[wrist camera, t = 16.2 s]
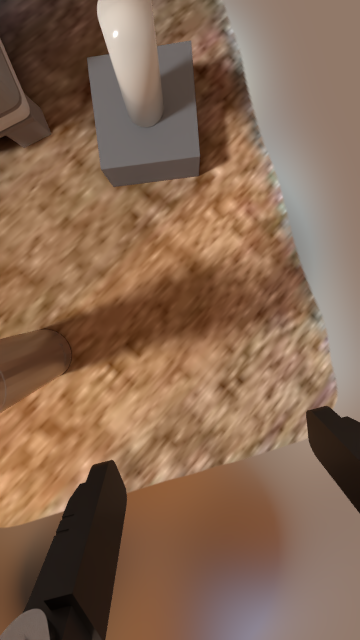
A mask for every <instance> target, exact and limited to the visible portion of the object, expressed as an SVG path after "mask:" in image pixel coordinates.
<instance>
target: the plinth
mask: <svg viewBox="0 0 360 640" xmlns="http://www.w3.org/2000/svg"><path fill="white" fill-rule="evenodd" d="M157 52H158V60H159V69H160V78H161V87H162V95H163V104H164V110H163V114H162V117H161V119H160V120H159V121H158V122H157V123H156V124H155V125H153V126H151V127H140V126H137V125H136V124H134V123H133V122H132V121H131V119H130V118H129V115H128V112H127V109H126V106H125V103H124V100H123V96H122V93H121V90H120V87H119V84H118V80H117V77H116V74H115V71H114V68H113V64H112V61H111V58H110V55H109V54H106V55H100V56H94V57H88V58H87V63H88V71H89V79H90V87H91V94H92V102H93V110H94V118H95V126H96V133H97V141H98V149H99V157H100V165H101V170H102V171H103V173H104V174H105V176H106V177H107V178H108V180H109V181H110V183H111V184H112V185H113V187H116V186H124V185H132V184H139V183H147V182H155V181H163V180H171V179H179V178H187V177H194V176H199V163H200V150H199V137H198V125H197V112H196V99H195V86H194V73H193V60H192V47H191V41H186V42H179V43H173V44H167V45H161V46H157Z"/></svg>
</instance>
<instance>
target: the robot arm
mask: <svg viewBox="0 0 360 640" xmlns="http://www.w3.org/2000/svg"><path fill="white" fill-rule="evenodd" d="M70 363H71V349H70V346H69V344H68V342H67V341H66V339H65V338H64V337H63V336H62V335H60V334H59V333H57V332H55V331H53V330H48V329H41V330H36V331H32V332H28V333H23V334H19V335H15V336H11V337H7V338H3V339H0V413H1V412H3V411H4V410H6V409H8V408H9V407H11V406H12V405H14V404H16V403H17V402H19V401H20V400H22V399H23V398H25V397H27V396H28V395H30V394H31V393H33V392H35V391H36V390H38V389H39V388H41V387H43V386H44V385H46V384H47V383H49V382H51V381H52V380H54V379H55V378H57V377H59V376H60V375H62V374H63V373H64V372H65V371H66V370H67V369H68V367H69V365H70ZM306 418H307V428H308V438H309V443H310V446H311V448H312V450H313V452H314V454H315V456H316V457H317V459H318V460H319V461H320V462H321V464H322V465H323V466H324V468H325V469H326V470H327V471H328V473H329V474H330V475H331V477H332V478H333V479H334V480H335V482H336V483H337V485H338V486H339V487H340V488H341V490H342V491H343V492H344V494H345V495H346V496H347V498H348V499H349V500H350V501H351V503H352V504H353V505H354V507H355V508H356V509H357V511H358V512H359V513H360V422H358V421H356V420H354V419H352V418H350V417H343V418H341V417H340V416H339V415H338V414H337V413H335V412H334V411H333V410H332V409H331V408H330V407H328V406H324V407H320V408H316V409H312V410H308V411H307V412H306ZM126 503H127V494H126V488H125V485H124V483H123V480H122V478H121V476H120V473H119V471H118V469H117V466H116V464H115V462H114V461H113V460H110V461H106V462H102V463H98V464H94V465H93V466H92V467H91V469H90V472H89V475H88V478H87V480H86V483H82V484H80V485H79V486H78V488H77V489H76V490H75V492H74V493H73V495H72V496H71V498H70V499H69V501H68V504H67V506H66V509H65V511H64V514H63V516H62V520H61V521H60V524H59V526H58V529H57V531H56V536H54V539H53V541H52V544H51V546H50V549H49V551H48V553H47V556H46V559H45V561H44V563H43V566H42V569H41V571H40V574H39V576H38V579H37V581H36V584H35V586H34V589H33V591H32V594H31V596H30V598H29V601H28V603H27V605H26V608H25V610H24V611H23V613H22V614H21V615H20V616H19V617H17V618H16V619H15V620H14V621H13V622H12V623H11V624H10V625H9V626H8V627H7V628H6V630H5V631H4V632H3V633H2V635H1V636H0V640H105V638H106V631H107V625H108V619H109V613H110V606H111V600H112V594H113V587H114V581H115V575H116V568H117V562H118V556H119V549H120V543H121V536H122V530H123V524H124V517H125V511H126Z"/></svg>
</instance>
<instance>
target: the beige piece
mask: <svg viewBox="0 0 360 640" xmlns="http://www.w3.org/2000/svg"><path fill="white" fill-rule="evenodd" d="M97 15H98V20H99V23H100V26H101V29H102V33H103V36H104V39H105V42H106V45H107V49H108V52H109V55H110V58H111V61H112V64H113V68H114V71H115V74H116V77H117V80H118V84H119V87H120V90H121V93H122V96H123V100H124V103H125V106H126V109H127V112H128V115H129V118H130V119H131V121H132V122H133V123H134V124H136V125H137V126H140V127H151V126H153V125H155V124H156V123H157V122H158V121H159V120H160V119H161V117H162V114H163V110H164V104H163V95H162V87H161V78H160V69H159V60H158V52H157V43H156V34H155V25H154V16H153V8H152V1H151V0H98V4H97Z"/></svg>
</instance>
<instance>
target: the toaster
mask: <svg viewBox="0 0 360 640" xmlns="http://www.w3.org/2000/svg"><path fill="white" fill-rule="evenodd" d="M49 135H51V132H50V129H49V127H48V124H47V122H46V120H45V117H44V115H43V112H42V110H41V108H40V107H39V106H38V105H36V104H35V103H34V102H33V101H32V100H31V99H30V98H29V97H28V96H27V95H26V94H25V93H24V92H23V90H22V88H21V86H20V83H19V81H18V79H17V76H16V74H15V72H14V69H13V67H12V65H11V62H10V60H9V58H8V55H7V53H6V51H5V48H4V46H3V44H2V41H1V39H0V138H1V137H3V136H8V137H9V138H11V139H12V140H14V141H15V142H16V143H18V144H19V145H21V146H22V147H24V148H25V147H27V146H29V145H31V144H33V143H35V142H37V141H39V140H41V139H43V138H45V137H47V136H49Z"/></svg>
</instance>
